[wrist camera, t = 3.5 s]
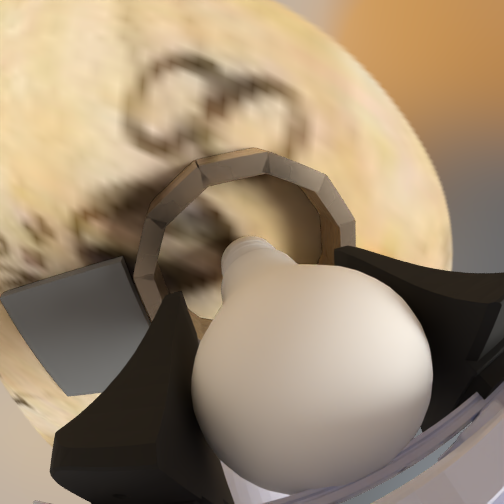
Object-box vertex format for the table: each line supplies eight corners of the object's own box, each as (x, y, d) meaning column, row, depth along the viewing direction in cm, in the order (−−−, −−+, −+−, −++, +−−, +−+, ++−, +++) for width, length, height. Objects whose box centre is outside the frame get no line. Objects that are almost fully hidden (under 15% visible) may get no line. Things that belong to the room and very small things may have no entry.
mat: (175, 372, 16) (176, 379, 15) (69, 389, 15) (67, 396, 14) (122, 255, 12) (120, 261, 12) (3, 292, 11) (-1, 298, 10)
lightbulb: (171, 301, 14) (198, 536, 4) (192, 178, 12) (274, 431, 2) (284, 311, 16) (387, 488, 6) (319, 205, 14) (516, 351, 4)
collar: (336, 304, 17) (352, 323, 15) (177, 350, 15) (179, 376, 13) (327, 136, 12) (350, 139, 10) (114, 182, 11) (103, 192, 9)
